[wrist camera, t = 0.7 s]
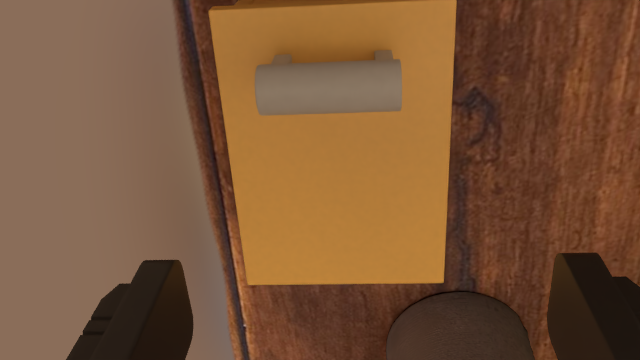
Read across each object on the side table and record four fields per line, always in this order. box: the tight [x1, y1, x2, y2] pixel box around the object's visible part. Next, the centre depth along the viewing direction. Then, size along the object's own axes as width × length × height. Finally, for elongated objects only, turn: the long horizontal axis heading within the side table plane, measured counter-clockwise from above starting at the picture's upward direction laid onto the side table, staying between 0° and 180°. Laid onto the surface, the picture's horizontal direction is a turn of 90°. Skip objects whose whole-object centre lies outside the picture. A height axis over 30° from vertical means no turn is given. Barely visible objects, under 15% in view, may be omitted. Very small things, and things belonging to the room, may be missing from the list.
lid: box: [209, 0, 457, 285], centre depth 25 cm, size 13×10×5 cm
